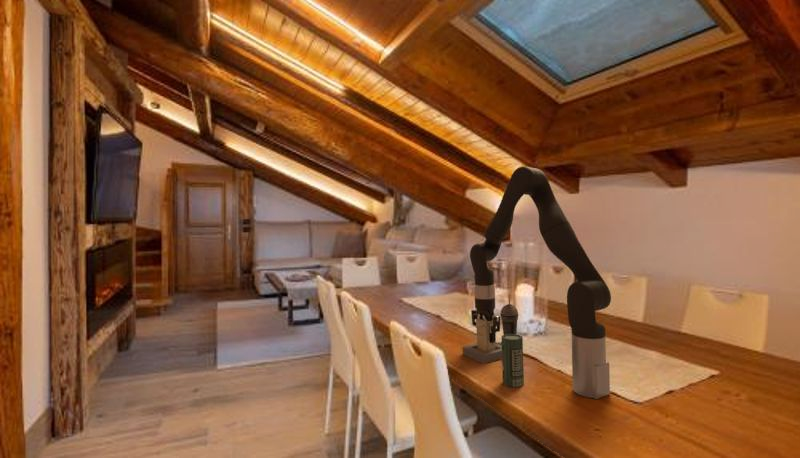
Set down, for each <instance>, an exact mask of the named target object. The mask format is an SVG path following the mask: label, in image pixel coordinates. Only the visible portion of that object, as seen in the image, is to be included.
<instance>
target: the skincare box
mask: <svg viewBox="0 0 800 458" xmlns="http://www.w3.org/2000/svg"><path fill="white" fill-rule="evenodd" d="M487 323H489V324H493V321H488V322H486V321H484V320H482V319H477V328H476V343H477V349H478V350H480V351H482V352H485V353H486V352H490V351H493V350H495V343H496V341H495V342H494V343H490V340H489V333H490V332H489V327H488V326H487ZM491 329H493V326H491Z"/></svg>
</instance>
